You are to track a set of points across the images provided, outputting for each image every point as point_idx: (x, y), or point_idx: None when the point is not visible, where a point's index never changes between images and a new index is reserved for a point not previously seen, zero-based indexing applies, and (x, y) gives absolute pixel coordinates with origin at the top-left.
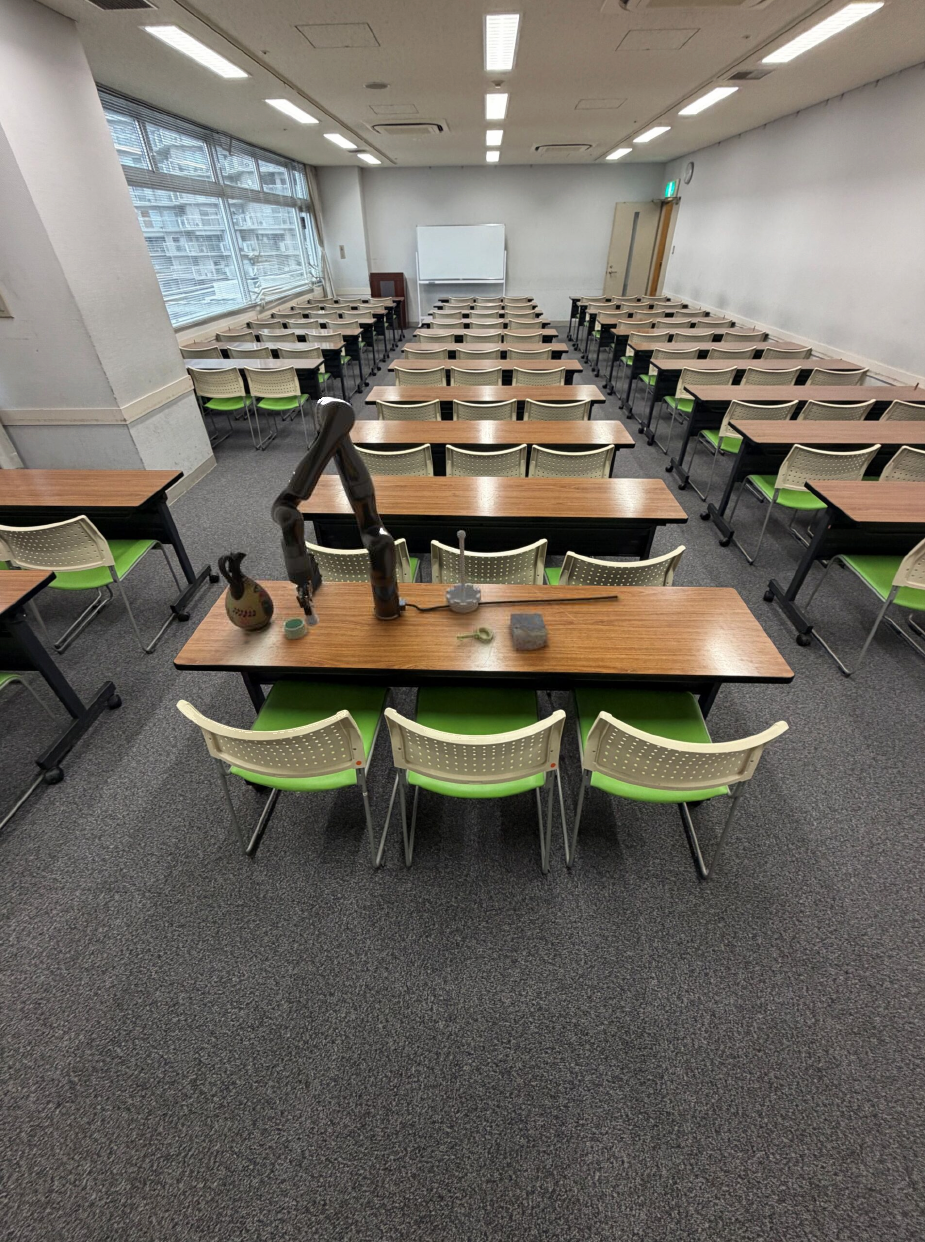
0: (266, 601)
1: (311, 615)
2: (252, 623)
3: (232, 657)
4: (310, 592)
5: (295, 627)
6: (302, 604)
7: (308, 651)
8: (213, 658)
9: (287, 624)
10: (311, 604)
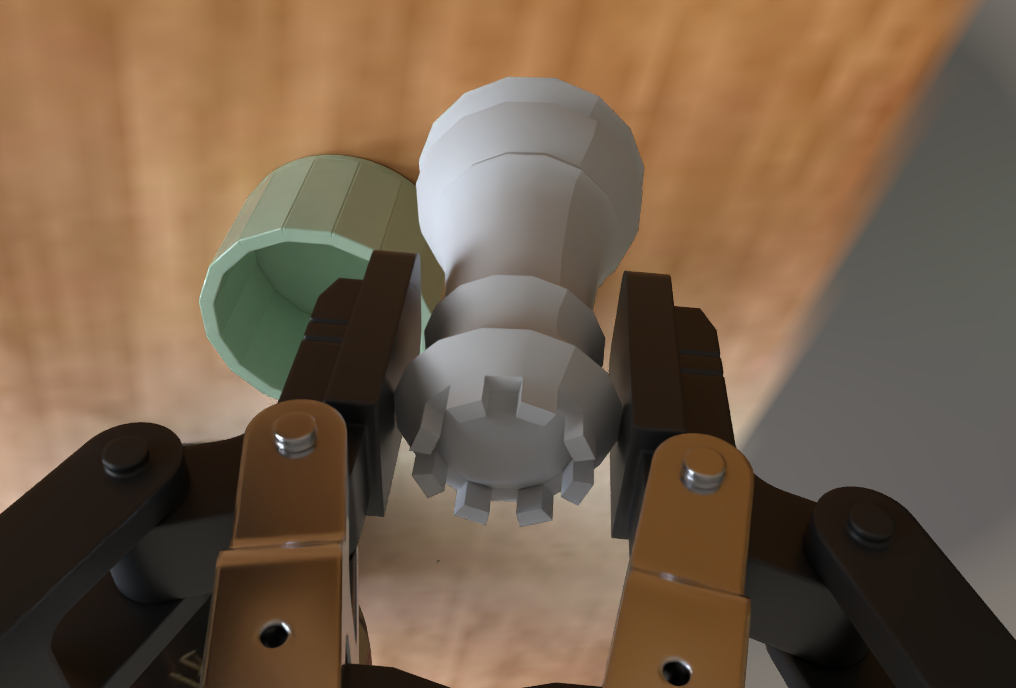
0: (138, 686)
1: (594, 256)
2: (362, 640)
3: (605, 608)
4: (343, 580)
5: (258, 266)
6: (842, 662)
7: (713, 110)
8: (585, 677)
9: (288, 365)
10: (546, 377)
